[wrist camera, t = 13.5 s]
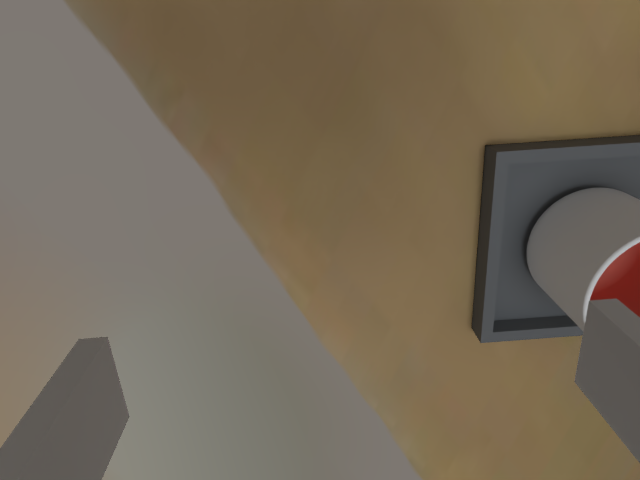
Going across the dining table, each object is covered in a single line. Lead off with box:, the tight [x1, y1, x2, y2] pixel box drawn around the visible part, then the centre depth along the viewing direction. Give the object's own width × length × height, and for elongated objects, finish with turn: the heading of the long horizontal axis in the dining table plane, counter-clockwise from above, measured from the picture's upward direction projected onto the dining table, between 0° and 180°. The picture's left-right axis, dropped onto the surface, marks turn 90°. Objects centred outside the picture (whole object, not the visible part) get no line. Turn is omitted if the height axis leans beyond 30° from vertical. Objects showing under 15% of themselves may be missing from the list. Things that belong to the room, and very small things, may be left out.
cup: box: [527, 188, 640, 331], centre depth 37 cm, size 10×10×10 cm
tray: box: [472, 135, 640, 343], centre depth 41 cm, size 17×17×2 cm
